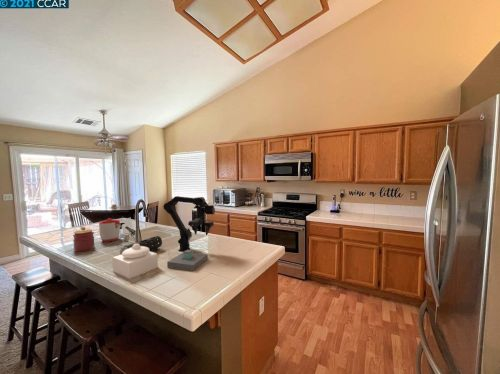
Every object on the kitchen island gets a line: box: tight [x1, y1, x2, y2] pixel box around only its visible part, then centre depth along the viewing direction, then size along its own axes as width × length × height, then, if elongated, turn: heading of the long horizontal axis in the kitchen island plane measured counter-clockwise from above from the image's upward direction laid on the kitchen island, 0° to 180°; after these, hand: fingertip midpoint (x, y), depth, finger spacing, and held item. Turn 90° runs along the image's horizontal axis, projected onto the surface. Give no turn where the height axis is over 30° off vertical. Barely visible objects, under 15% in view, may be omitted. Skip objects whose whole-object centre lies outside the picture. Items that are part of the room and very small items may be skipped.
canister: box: [72, 226, 95, 253], centre depth 169 cm, size 13×13×18 cm
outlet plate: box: [166, 251, 209, 272], centre depth 140 cm, size 18×18×4 cm
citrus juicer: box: [98, 217, 122, 243], centre depth 192 cm, size 16×17×20 cm
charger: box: [183, 249, 194, 260], centre depth 140 cm, size 4×4×8 cm
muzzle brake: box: [119, 235, 163, 255], centre depth 157 cm, size 10×28×10 cm, turn 155°
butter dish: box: [112, 244, 159, 280], centre depth 131 cm, size 18×18×16 cm
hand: (201, 234), depth 162 cm, fingers open, 9 cm apart
